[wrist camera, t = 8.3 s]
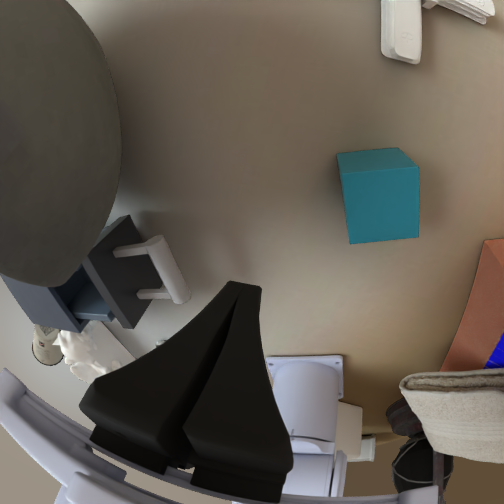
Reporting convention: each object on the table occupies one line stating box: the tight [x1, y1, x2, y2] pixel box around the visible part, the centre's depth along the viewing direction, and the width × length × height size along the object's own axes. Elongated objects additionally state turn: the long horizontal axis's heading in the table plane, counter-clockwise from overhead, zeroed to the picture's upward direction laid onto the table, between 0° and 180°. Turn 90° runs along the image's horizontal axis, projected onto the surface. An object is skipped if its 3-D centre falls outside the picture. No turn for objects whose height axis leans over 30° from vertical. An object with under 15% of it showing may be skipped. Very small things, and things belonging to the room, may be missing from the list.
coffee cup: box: [32, 324, 64, 366], centre depth 38 cm, size 7×7×10 cm
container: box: [329, 401, 362, 495], centre depth 29 cm, size 8×8×13 cm
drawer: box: [54, 215, 191, 329], centre depth 21 cm, size 15×7×6 cm, turn 105°
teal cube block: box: [336, 148, 420, 244], centre depth 14 cm, size 4×4×4 cm
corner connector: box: [381, 0, 495, 64], centre depth 8 cm, size 8×8×2 cm
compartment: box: [0, 273, 90, 333], centre depth 24 cm, size 11×8×7 cm
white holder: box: [52, 320, 136, 384], centre depth 33 cm, size 13×12×8 cm
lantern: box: [386, 398, 454, 504], centre depth 18 cm, size 12×11×30 cm
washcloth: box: [399, 368, 504, 464], centre depth 12 cm, size 12×18×3 cm
